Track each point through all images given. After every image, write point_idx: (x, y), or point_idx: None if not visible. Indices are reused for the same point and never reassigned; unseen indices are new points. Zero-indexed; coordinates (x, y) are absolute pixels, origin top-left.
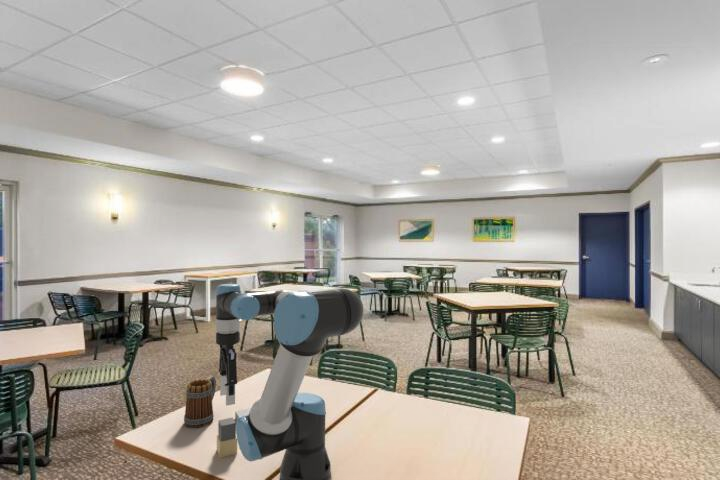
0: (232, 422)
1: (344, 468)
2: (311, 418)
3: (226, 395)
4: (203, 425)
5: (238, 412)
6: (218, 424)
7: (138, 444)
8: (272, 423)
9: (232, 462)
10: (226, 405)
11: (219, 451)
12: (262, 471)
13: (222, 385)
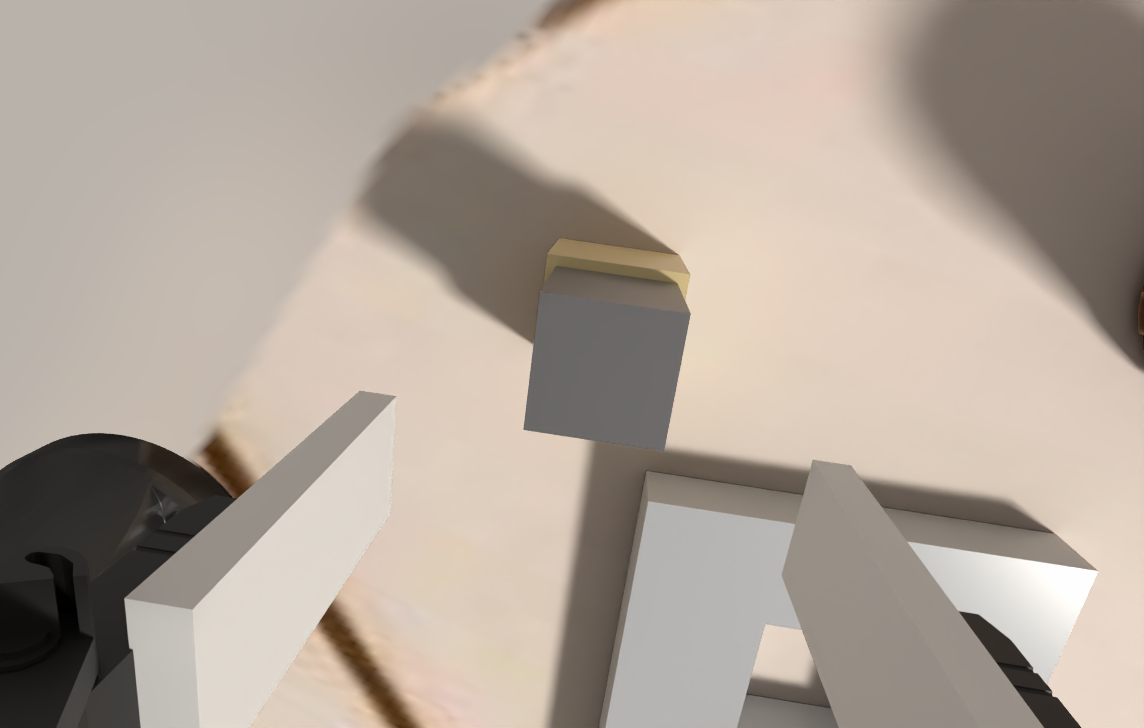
0: (552, 408)
1: None
2: None
3: (279, 463)
4: (1141, 295)
5: (1050, 580)
6: (683, 303)
7: None
8: None
9: (453, 286)
10: (358, 393)
11: (575, 245)
12: (259, 392)
13: (867, 595)
